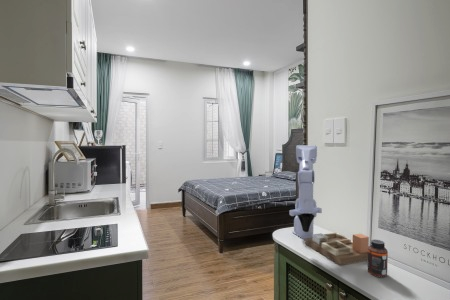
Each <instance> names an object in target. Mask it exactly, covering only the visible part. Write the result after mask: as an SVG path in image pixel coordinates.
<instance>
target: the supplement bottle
mask: <svg viewBox="0 0 450 300" xmlns="http://www.w3.org/2000/svg"><path fill="white" fill-rule="evenodd" d="M385 244H386V243H385V241H383V240H381V239H372V240H371V241H370V245H369V247H368V260H367V272H368V273H369V275H372V276H374V277H377V278H385V277H388V258H389V255H388V254H389V252H388V249H387V248H386V247H385V246H386V245H385Z"/></svg>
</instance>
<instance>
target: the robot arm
mask: <svg viewBox="0 0 450 300" xmlns="http://www.w3.org/2000/svg"><path fill="white" fill-rule="evenodd" d="M295 157H296V162H297V163H298V164H299V167H298V168H299V169H298V172H297V182H298V198H296V200H295V203H294V206H295V207H294V208H295V209H290V210H289V211H288V212H289V216H291V217H294V216H295V217H294V219H293V231H292V234H295V235H296V236H298V237H300V238H301V239H303V240H306V238H313V234H314V219H315V218H317V214H322V210H323V209H322V208H321V207H318V206H317V202H316V199H315V198H314V185H315V177H316V175H315V170H314V164H315V163H317V157H318V146H317V145H316V144H315V145H307V144H306V145H304V144H303V145H299V144H298V145H296V147H295Z"/></svg>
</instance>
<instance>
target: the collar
mask: <svg viewBox="0 0 450 300" xmlns="http://www.w3.org/2000/svg"><path fill="white" fill-rule="evenodd" d="M334 247H339V248H338V249H335V248H334ZM322 248H323V249H325V250H327V251H328V252H330V253H332V254H333V255H335V256H338V255H343V254H349V253H352V249H353V248H352V247H350V246H348V245H346V244H344V243H342V242H340V241H338V240H337V241H330V242H324V243H322Z"/></svg>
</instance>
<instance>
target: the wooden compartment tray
mask: <svg viewBox="0 0 450 300" xmlns="http://www.w3.org/2000/svg"><path fill="white" fill-rule="evenodd" d="M323 235H325V236H328V242H330V241H337V240H338V241H340V242H342V243H344V244H346V245H348V246H350V247H352V246H353V241H352V239H351V238H349V237H347V236H345V235H342V234H341V233H338V232H332V233H331V232H330V233H323ZM312 239H313V238H306V239H305V245H306V246H308V247H310V248H311V249H314V251H316V252H318V253H320V254H321V255H323V256H324V257H326V258H328V259H329V260H331V261H333V262H335V263H336V264H337V265H339V266H344V265H349V264H354V263H359V262H365V261H368V252H366V253H359V252H357V251H355V250H353V249H352V253H349V254H343V255H338V256H335V255H333V254H332V253H330V252H328V251H327V250H325V249H323V248H322V245H318V244H316V243H314V242H313V241H312ZM334 248H335V249H338V248H339V247H334Z"/></svg>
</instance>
